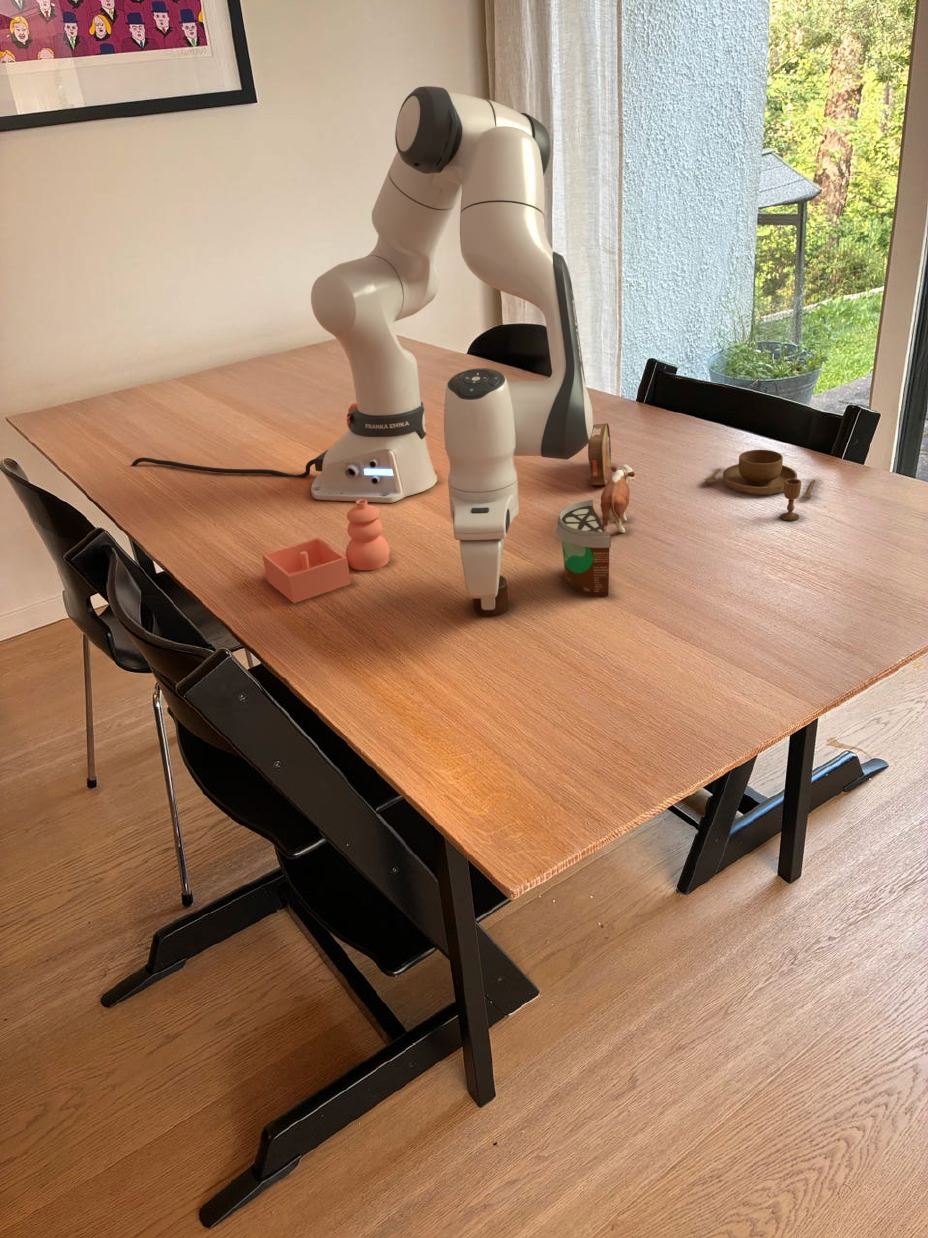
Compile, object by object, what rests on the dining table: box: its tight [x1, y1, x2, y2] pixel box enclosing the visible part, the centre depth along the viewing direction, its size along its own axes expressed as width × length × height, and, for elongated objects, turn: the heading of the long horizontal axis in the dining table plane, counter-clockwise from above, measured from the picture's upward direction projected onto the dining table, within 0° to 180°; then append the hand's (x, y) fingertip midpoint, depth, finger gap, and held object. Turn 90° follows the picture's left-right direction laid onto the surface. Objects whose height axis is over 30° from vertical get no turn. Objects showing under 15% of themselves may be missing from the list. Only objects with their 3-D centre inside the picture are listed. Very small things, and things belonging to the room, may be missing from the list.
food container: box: [555, 499, 612, 597], centre depth 137 cm, size 12×6×10 cm, turn 5°
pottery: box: [261, 499, 391, 604], centre depth 146 cm, size 18×10×10 cm, turn 123°
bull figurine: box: [600, 463, 636, 534], centre depth 154 cm, size 4×13×8 cm, turn 161°
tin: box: [587, 422, 612, 486], centre depth 173 cm, size 15×3×8 cm, turn 168°
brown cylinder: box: [471, 575, 509, 618], centre depth 134 cm, size 5×5×4 cm
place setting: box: [704, 449, 816, 522], centre depth 162 cm, size 18×20×6 cm
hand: (490, 596), depth 134 cm, fingers closed on brown cylinder, 5 cm apart
